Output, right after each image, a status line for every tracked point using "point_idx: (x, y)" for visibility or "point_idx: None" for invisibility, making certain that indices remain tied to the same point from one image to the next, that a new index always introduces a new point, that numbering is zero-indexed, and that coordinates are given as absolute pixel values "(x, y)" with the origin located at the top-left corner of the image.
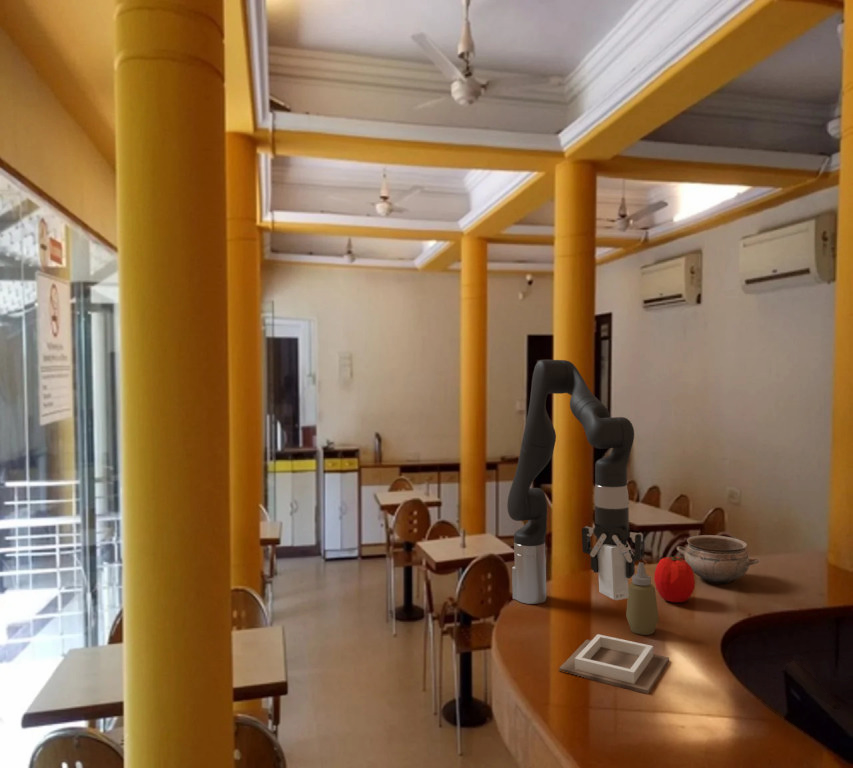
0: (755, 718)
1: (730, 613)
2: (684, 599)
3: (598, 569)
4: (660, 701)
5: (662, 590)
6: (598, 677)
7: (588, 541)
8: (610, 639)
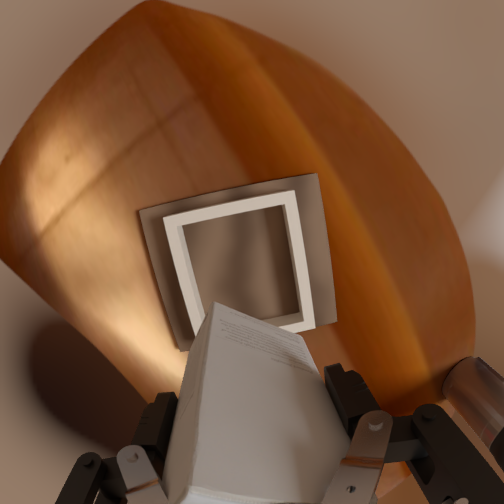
0: (25, 255)
1: None
2: None
3: (324, 389)
4: (116, 202)
5: None
6: (234, 190)
7: (435, 475)
8: (282, 325)
